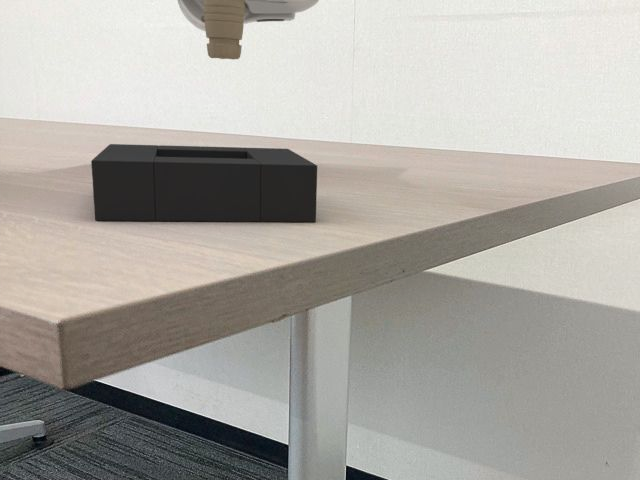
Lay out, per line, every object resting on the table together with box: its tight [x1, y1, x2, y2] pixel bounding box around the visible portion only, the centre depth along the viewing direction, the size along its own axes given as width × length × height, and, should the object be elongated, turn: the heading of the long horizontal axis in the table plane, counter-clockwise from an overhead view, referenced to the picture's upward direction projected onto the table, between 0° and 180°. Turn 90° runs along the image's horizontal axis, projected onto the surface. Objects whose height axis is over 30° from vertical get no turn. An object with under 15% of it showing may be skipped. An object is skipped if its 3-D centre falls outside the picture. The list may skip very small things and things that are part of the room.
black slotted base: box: [90, 143, 318, 223], centre depth 60 cm, size 15×15×4 cm
